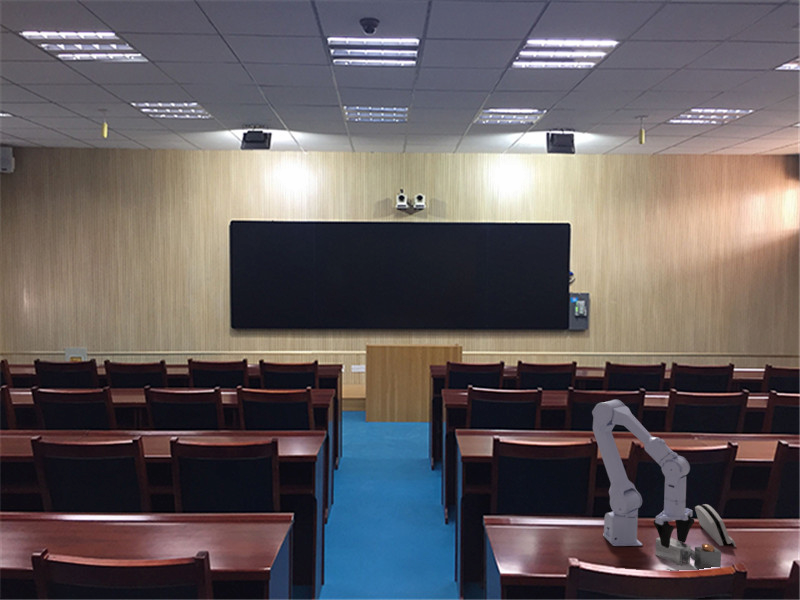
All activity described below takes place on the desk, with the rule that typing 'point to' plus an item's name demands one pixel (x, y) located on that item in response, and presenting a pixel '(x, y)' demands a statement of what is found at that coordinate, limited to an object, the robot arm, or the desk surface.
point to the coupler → (706, 556)
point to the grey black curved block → (713, 524)
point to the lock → (673, 551)
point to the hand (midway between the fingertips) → (673, 543)
